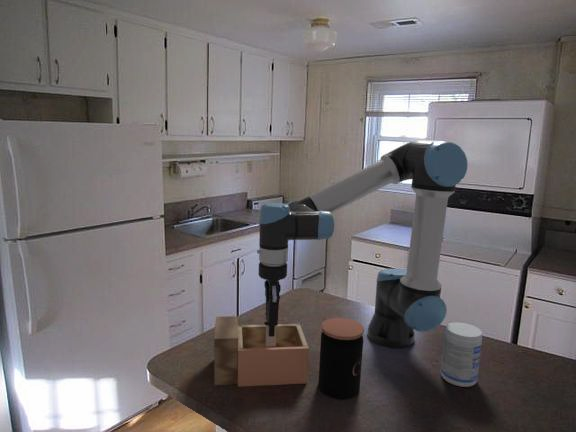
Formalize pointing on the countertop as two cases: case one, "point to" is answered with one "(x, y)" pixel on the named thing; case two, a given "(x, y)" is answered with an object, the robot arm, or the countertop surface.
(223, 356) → the box
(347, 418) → the countertop surface
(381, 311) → the robot arm
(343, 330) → the coffee jar
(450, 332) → the supplement tub
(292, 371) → the panel
